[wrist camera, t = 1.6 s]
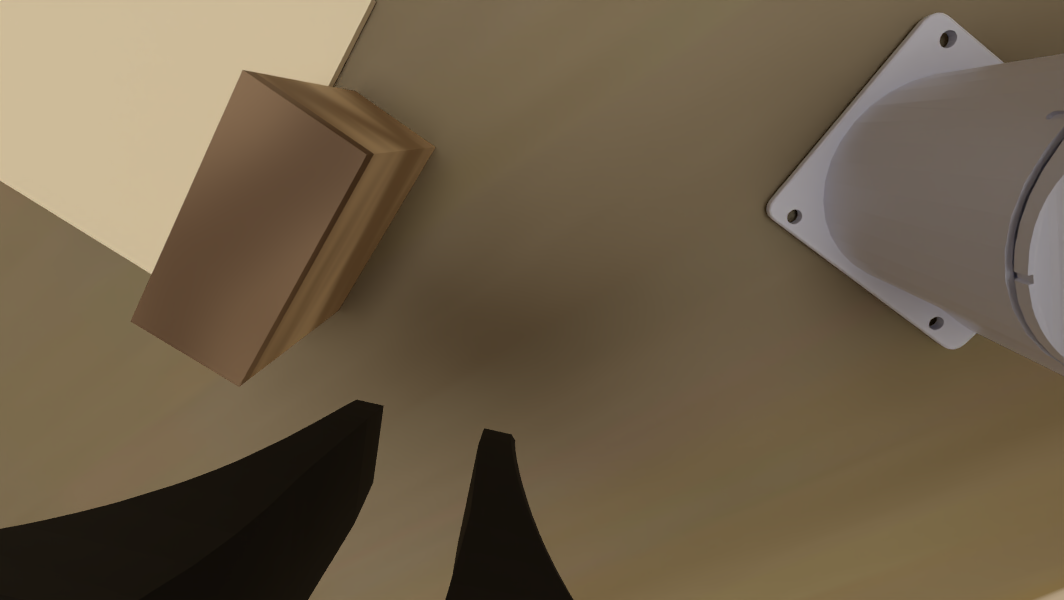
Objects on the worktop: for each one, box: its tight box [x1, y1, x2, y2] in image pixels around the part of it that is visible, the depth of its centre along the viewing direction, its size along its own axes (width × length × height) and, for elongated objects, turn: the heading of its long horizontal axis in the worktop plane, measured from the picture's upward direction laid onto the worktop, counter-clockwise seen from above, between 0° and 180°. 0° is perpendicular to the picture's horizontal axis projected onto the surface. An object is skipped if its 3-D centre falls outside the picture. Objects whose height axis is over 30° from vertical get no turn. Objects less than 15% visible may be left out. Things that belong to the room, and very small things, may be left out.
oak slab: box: [131, 70, 435, 386], centre depth 17 cm, size 4×8×7 cm, turn 145°
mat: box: [0, 0, 376, 274], centre depth 19 cm, size 12×14×1 cm
